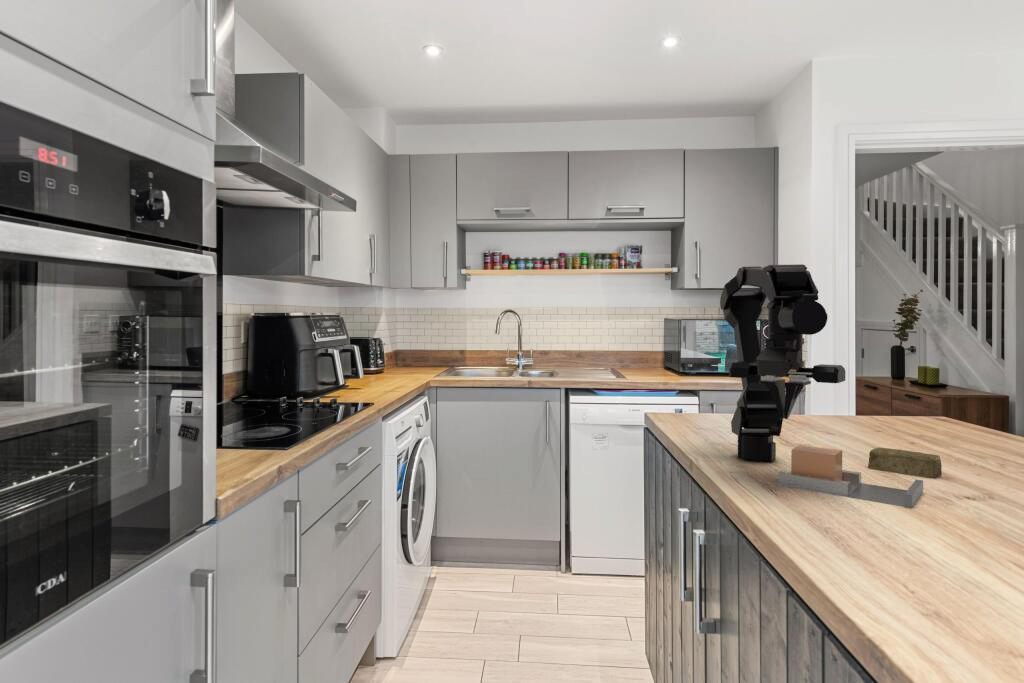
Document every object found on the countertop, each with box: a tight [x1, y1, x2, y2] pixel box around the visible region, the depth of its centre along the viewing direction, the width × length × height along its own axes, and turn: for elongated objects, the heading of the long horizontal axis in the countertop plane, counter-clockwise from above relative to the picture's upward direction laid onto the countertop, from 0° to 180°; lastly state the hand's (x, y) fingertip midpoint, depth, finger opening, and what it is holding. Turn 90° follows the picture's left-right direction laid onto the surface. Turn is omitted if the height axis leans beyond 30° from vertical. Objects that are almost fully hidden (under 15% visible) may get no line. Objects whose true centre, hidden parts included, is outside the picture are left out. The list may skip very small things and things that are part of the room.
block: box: [790, 444, 843, 481], centre depth 106 cm, size 7×5×6 cm
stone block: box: [867, 447, 943, 479], centre depth 114 cm, size 6×12×5 cm, turn 44°
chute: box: [776, 469, 924, 509], centre depth 102 cm, size 20×11×3 cm, turn 48°
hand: (784, 418), depth 109 cm, fingers closed
